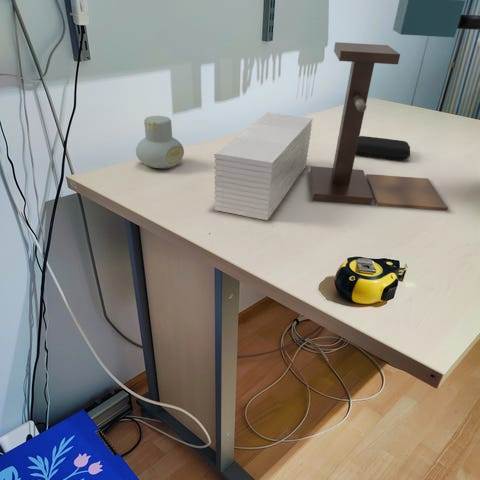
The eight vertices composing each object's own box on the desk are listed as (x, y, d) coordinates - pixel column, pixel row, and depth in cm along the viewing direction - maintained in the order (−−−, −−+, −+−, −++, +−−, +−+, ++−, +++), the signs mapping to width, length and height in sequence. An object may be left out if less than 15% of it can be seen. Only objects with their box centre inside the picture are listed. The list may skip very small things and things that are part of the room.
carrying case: (408, 150, 114) (353, 143, 117) (411, 138, 113) (355, 132, 115) (408, 163, 107) (349, 155, 109) (412, 151, 105) (352, 143, 107)
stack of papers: (267, 220, 79) (272, 162, 72) (214, 210, 81) (214, 153, 74) (306, 165, 102) (312, 118, 95) (264, 159, 105) (267, 112, 98)
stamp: (493, 35, 76) (505, 1, 73) (509, 40, 71) (523, 3, 67) (392, 30, 77) (400, -5, 74) (400, 34, 71) (409, -3, 68)
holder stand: (361, 174, 99) (390, 43, 83) (372, 207, 85) (410, 57, 69) (309, 170, 100) (328, 39, 83) (312, 202, 86) (336, 53, 69)
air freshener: (161, 154, 104) (158, 111, 98) (189, 161, 101) (187, 117, 95) (131, 167, 97) (126, 121, 91) (160, 175, 94) (156, 128, 88)
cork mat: (426, 180, 98) (427, 178, 97) (446, 210, 85) (447, 207, 85) (365, 176, 98) (366, 174, 98) (376, 205, 86) (377, 202, 86)
